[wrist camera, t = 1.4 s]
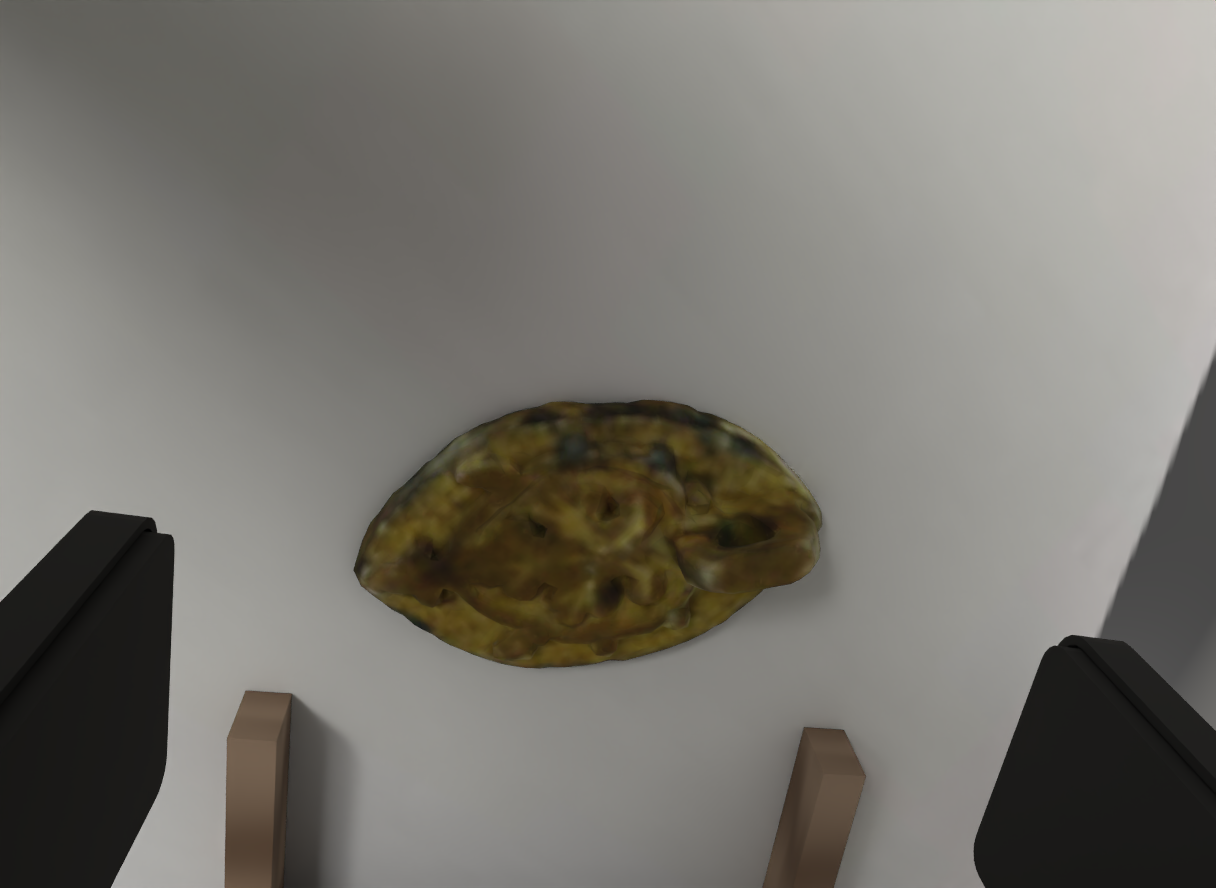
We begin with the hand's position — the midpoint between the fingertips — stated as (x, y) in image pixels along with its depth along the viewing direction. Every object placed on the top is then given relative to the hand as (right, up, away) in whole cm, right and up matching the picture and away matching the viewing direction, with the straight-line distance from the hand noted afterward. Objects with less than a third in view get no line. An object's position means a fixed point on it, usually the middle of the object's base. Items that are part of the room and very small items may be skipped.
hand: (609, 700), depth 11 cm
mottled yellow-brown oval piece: (-1, 0, +23) cm, 23 cm away
